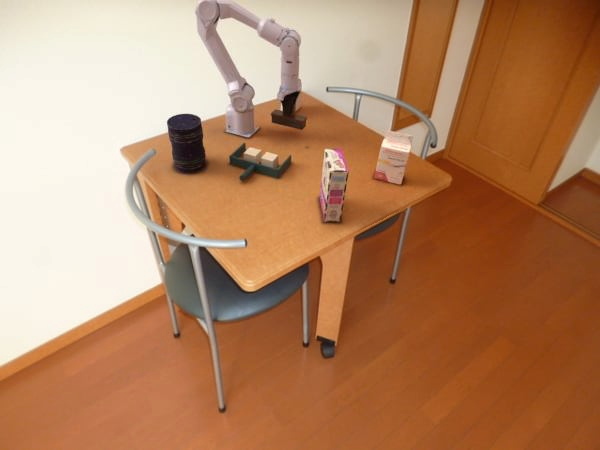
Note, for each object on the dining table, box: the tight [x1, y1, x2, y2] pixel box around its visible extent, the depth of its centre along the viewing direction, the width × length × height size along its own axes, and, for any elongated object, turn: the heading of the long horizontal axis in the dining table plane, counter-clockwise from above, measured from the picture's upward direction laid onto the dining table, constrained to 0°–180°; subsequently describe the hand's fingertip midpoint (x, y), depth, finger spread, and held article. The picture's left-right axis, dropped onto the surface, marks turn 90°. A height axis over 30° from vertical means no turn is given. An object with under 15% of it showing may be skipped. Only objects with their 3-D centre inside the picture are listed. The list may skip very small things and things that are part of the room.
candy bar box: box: [318, 148, 350, 223], centre depth 111 cm, size 11×5×16 cm, turn 5°
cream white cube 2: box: [260, 151, 279, 169], centre depth 130 cm, size 4×4×4 cm
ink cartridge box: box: [374, 129, 414, 185], centre depth 125 cm, size 9×5×15 cm, turn 71°
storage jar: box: [166, 113, 207, 175], centre depth 126 cm, size 10×10×15 cm
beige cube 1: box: [243, 146, 262, 164], centre depth 132 cm, size 4×4×4 cm
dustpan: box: [228, 142, 292, 183], centre depth 129 cm, size 17×16×3 cm
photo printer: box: [279, 82, 303, 112], centre depth 158 cm, size 10×4×12 cm, turn 149°
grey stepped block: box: [270, 102, 308, 131], centre depth 142 cm, size 12×4×8 cm, turn 67°
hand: (288, 112), depth 142 cm, fingers closed on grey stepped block, 2 cm apart
